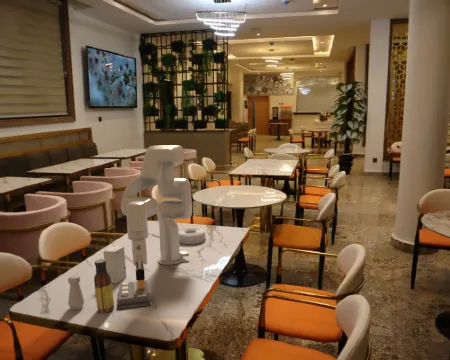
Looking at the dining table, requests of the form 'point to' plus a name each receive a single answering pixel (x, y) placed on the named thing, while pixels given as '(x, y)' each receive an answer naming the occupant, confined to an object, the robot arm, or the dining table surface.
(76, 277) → the salt shaker
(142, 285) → the lever
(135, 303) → the dark brown grooved strip
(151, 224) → the dining table surface
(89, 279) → the dining table surface
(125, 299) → the breaker panel
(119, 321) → the dining table surface
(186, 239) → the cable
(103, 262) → the sauce bottle
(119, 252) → the skincare box
